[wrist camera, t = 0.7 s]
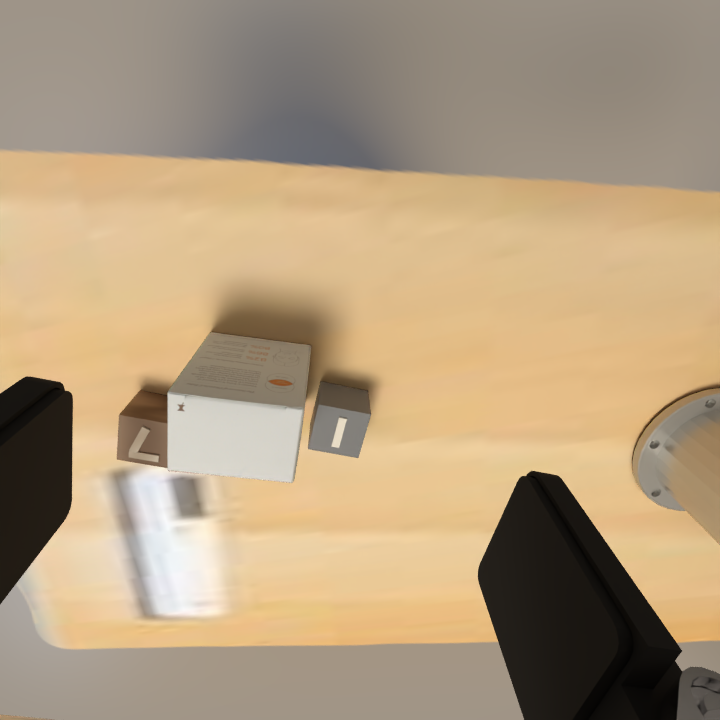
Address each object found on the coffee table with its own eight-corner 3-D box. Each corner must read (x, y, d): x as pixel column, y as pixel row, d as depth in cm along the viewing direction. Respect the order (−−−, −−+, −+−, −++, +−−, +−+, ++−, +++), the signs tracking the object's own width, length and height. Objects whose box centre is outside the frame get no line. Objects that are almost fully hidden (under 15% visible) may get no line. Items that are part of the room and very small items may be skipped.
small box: (206, 393, 38) (162, 472, 28) (209, 329, 36) (163, 391, 26) (304, 405, 39) (293, 486, 29) (313, 343, 37) (305, 409, 27)
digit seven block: (190, 399, 38) (174, 426, 34) (185, 439, 40) (169, 469, 36) (140, 389, 38) (118, 415, 34) (137, 431, 39) (115, 460, 35)
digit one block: (367, 390, 39) (371, 415, 35) (356, 430, 40) (358, 459, 36) (320, 380, 38) (318, 405, 34) (310, 422, 40) (307, 450, 36)
